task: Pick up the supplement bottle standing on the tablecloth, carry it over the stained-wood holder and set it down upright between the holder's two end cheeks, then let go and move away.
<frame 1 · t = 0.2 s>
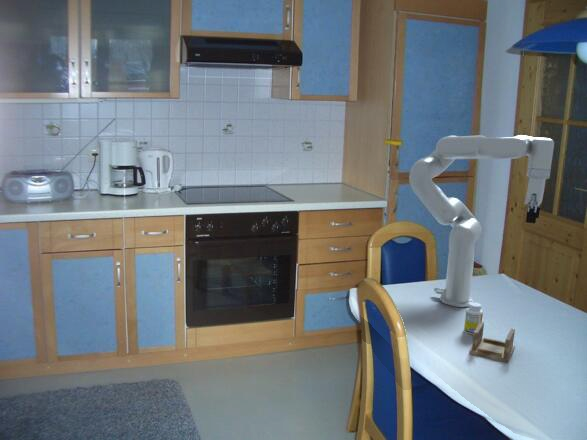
hand: (532, 220, 229), 36 cm above the table, tool pointing down, fingers open, 9 cm apart
supplement bottle: (472, 332, 220), on the table
holder: (492, 351, 206), on the table
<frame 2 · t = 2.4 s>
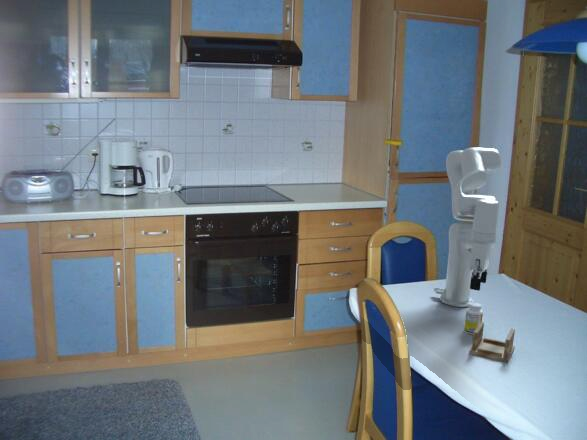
hand: (477, 285, 215), 17 cm above the table, tool pointing down, fingers open, 9 cm apart
nothing on the table moved.
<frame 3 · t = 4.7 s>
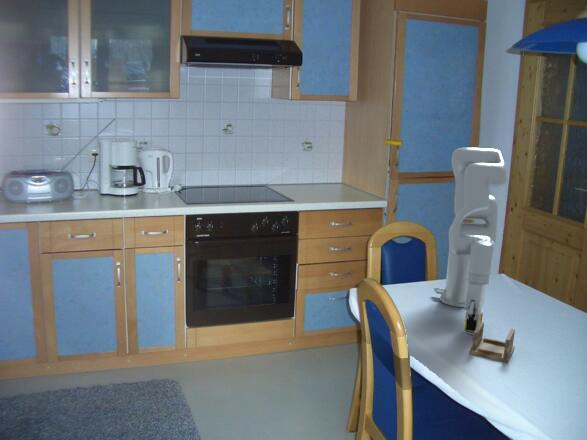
hand: (472, 326, 219), 2 cm above the table, tool pointing down, fingers closed on supplement bottle, 5 cm apart
supplement bottle: (472, 332, 220), on the table, touching gripper
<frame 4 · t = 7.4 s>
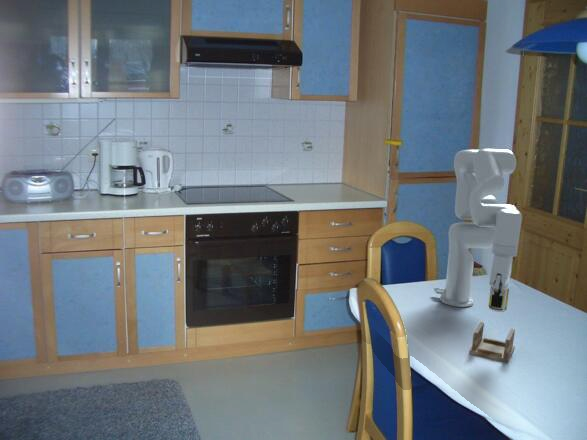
hand: (497, 303, 202), 16 cm above the table, tool pointing down, fingers closed on supplement bottle, 5 cm apart
supplement bottle: (497, 309, 202), point 14 cm above the table, touching gripper
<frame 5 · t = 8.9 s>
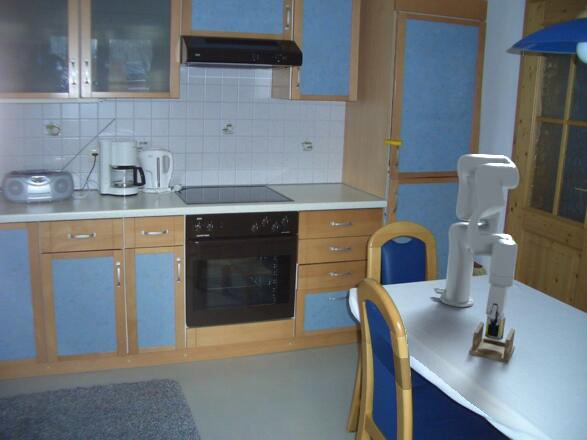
hand: (494, 332, 204), 7 cm above the table, tool pointing down, fingers closed on supplement bottle, 5 cm apart
supplement bottle: (493, 338, 205), point 4 cm above the table, touching gripper
when the fingers open (5 cm above the table, at t = 10.1 s): supplement bottle drops 2 cm, resting on holder.
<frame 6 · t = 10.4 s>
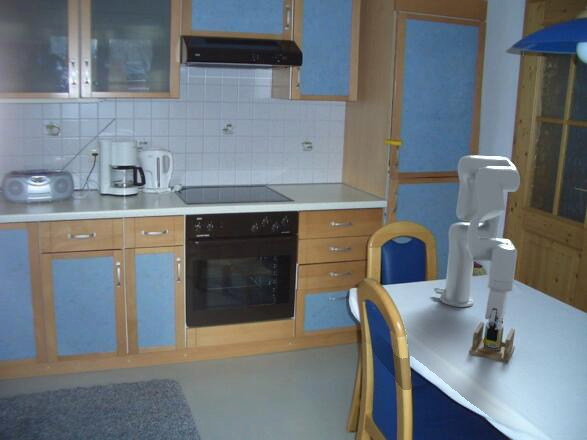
hand: (493, 335, 204), 5 cm above the table, tool pointing down, fingers open, 7 cm apart
supplement bottle: (492, 348, 206), point 1 cm above the table, touching holder
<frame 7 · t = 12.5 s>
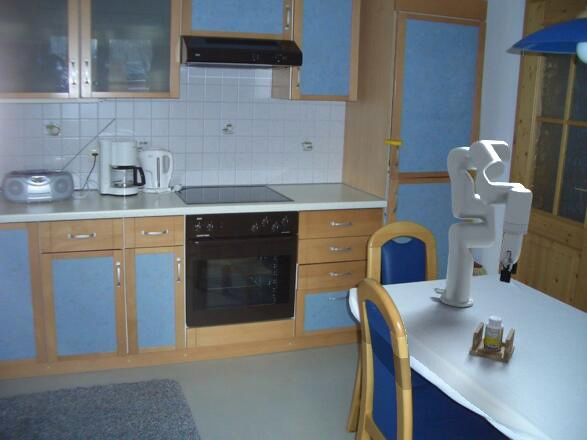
hand: (507, 277, 207), 23 cm above the table, tool pointing down, fingers open, 9 cm apart
nothing on the table moved.
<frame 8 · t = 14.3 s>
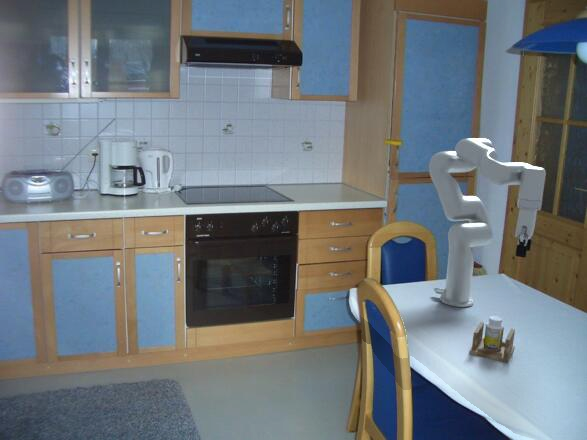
hand: (522, 253, 216), 28 cm above the table, tool pointing down, fingers open, 9 cm apart
nothing on the table moved.
at the end: supplement bottle 0.1 cm off-centre on the holder, point 0.8 cm above the holder's base; supplement bottle tilted 0°; the gripper is holding nothing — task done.
